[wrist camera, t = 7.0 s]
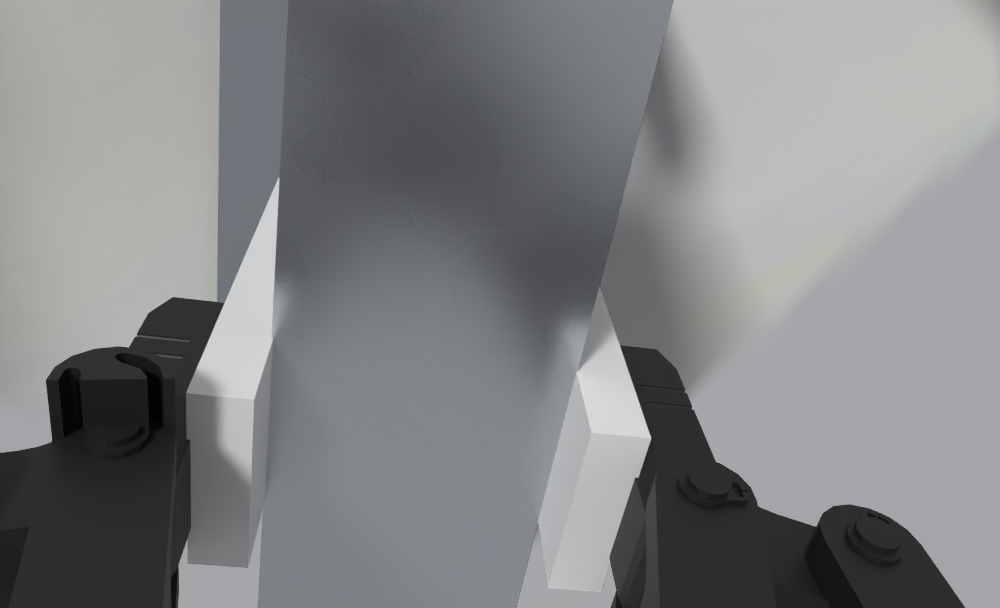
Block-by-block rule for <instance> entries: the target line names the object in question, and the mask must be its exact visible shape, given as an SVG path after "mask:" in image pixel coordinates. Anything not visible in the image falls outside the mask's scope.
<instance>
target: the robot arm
mask: <svg viewBox="0 0 1000 608" xmlns="http://www.w3.org/2000/svg"><path fill="white" fill-rule="evenodd" d="M278 198H279V178H278V180H277V182H276V185H275V187H274V189H273V192H272V194H271V196H270V199H269V201H268V203H267V206H266V208H265V210H264V213H263V215H262V217H261V219H260V222H259V224H258V226H257V229H256V231H255V233H254V236H253V238H252V240H251V243H250V245H249V247H248V250H247V252H246V254H245V257H244V259H243V261H242V264H241V266H240V268H239V271H238V273H237V275H236V278H235V280H234V282H233V285H232V287H231V289H230V292H229V294H228V296H227V299H226V301H225V303H220V302H211V301H202V300H193V299H184V298H175V297H173V298H171V299H169V300H168V301H166V302H165V303H163V304H162V305H160V306H159V307H157V308H156V309H154V310H153V311H151V312H150V313H149V314H148V315H147V317H146V319H145V321H144V322H143V324H142V326H141V328H140V329H139V331H138V333H137V337H135V338H134V340H133V342H132V343H131V345H130V347H129V348H127V347H109V348H100V349H93V350H90V351H86V352H83V353H80V354H77V355H74V356H71V357H70V358H68V359H67V360H65V361H63V362H62V363H60V364H59V365H57V366H56V367H55V368H54V369H53V371H52V372H51V374H50V375H49V377H48V378H47V380H46V385H47V394H48V403H49V413H50V422H51V431H52V442H51V443H48V444H45V445H42V446H40V447H36V448H30V449H25V450H20V451H13V452H5V453H0V608H178V596H179V571H178V564H179V561H180V558H181V555H182V553H183V549H184V547H185V544H186V541H187V538H188V563H189V564H204V565H217V566H232V567H245V568H248V565H249V561H250V557H251V553H252V549H253V545H254V541H255V537H256V533H257V529H258V525H259V521H260V517H261V513H262V509H263V505H264V501H265V491H266V471H267V451H268V431H269V411H270V391H271V372H272V352H273V338H271V337H272V317H273V297H274V277H275V258H276V238H277V218H278ZM538 525H539V532H540V540H541V547H542V554H543V561H544V568H545V575H546V582H547V589H557V590H570V591H585V592H599V593H601V591H602V587H603V585H604V582H605V579H606V575H607V572H608V569H609V566H610V563H611V567H612V572H613V576H614V581H615V585H616V590H617V591H616V593H615V597H614V599H613V602H612V605H611V608H965V607H964V605H963V604H962V603H961V601H960V600H959V598H958V597H957V595H956V594H955V593H954V591H953V590H952V588H951V587H950V585H949V584H948V583H947V581H946V580H945V578H944V577H943V576H942V574H941V573H940V571H939V570H938V568H937V567H936V565H935V564H934V563H933V561H932V560H931V558H930V557H929V555H928V554H927V553H926V551H925V550H924V548H923V547H922V545H921V544H920V543H919V542H918V541H917V540H916V539H915V538H914V537H913V536H912V535H911V533H909V531H908V530H906V529H905V528H904V527H902V526H901V525H899V524H898V523H897V522H895V521H894V520H892V519H891V518H889V517H887V516H885V515H883V514H881V513H878V512H876V511H874V510H871V509H868V508H864V507H859V506H854V505H840V506H833V507H832V508H830V509H828V510H827V511H826V512H824V513H823V514H822V516H821V518H820V521H819V523H818V525H817V527H815V526H811V525H808V524H805V523H802V522H799V521H796V520H792V519H789V518H787V517H784V516H780V515H777V514H775V513H772V512H770V511H767V510H764V509H762V508H760V507H758V506H757V501H756V498H755V496H754V494H753V492H752V490H751V487H750V486H749V485H748V484H747V483H746V482H745V481H744V480H743V479H742V478H741V477H740V476H739V475H738V474H736V473H735V472H733V471H732V470H730V469H728V468H727V467H725V466H724V465H722V464H720V463H717V462H716V461H715V459H714V457H713V454H712V452H711V450H710V447H709V445H708V442H707V440H706V438H705V435H704V433H703V431H702V428H701V426H700V424H699V421H698V419H697V416H696V414H695V412H694V410H692V405H691V402H690V400H689V398H688V395H687V393H685V388H684V386H683V383H682V381H681V379H680V376H679V374H678V372H677V369H676V368H675V367H674V366H673V365H672V364H671V363H670V362H669V361H668V360H667V359H666V358H665V357H664V356H663V355H662V354H661V353H660V352H659V351H658V350H655V349H647V348H638V347H629V346H620V344H619V341H618V339H617V336H616V333H615V330H614V327H613V324H612V321H611V318H610V315H609V312H608V309H607V306H606V303H605V300H604V297H603V294H602V291H601V288H600V286H599V290H598V294H597V298H596V301H595V305H594V309H593V313H592V317H591V321H590V325H589V328H588V332H587V336H586V340H585V344H584V348H583V352H582V356H581V359H580V363H579V367H578V371H576V375H575V379H574V383H573V387H572V391H571V395H570V399H569V403H568V406H567V410H566V414H565V418H564V422H563V426H562V430H561V434H560V438H559V441H558V445H557V449H556V453H555V457H554V461H553V465H552V469H551V473H550V476H549V480H548V484H547V488H546V492H545V496H544V500H543V504H542V508H541V511H540V515H539V519H538Z"/></svg>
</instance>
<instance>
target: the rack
mask: <svg viewBox="0 0 1000 608" xmlns="http://www.w3.org/2000/svg"><path fill="white" fill-rule="evenodd" d="M287 19H288V0H221V4H220V100H219V197H218V294H217V302H220V303H225V301H226V299H227V296H228V294H229V292H230V289H231V287H232V285H233V282H234V280H235V278H236V275H237V273H238V271H239V268H240V266H241V264H242V261H243V259H244V257H245V254H246V252H247V250H248V247H249V245H250V243H251V240H252V238H253V236H254V233H255V231H256V229H257V226H258V224H259V222H260V219H261V217H262V215H263V213H264V210H265V208H266V206H267V203H268V201H269V199H270V196H271V194H272V192H273V189H274V187H275V185H276V182H277V180H278V178H280V158H281V138H282V118H283V98H284V79H285V59H286V39H287Z"/></svg>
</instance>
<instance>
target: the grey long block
mask: <svg viewBox="0 0 1000 608" xmlns="http://www.w3.org/2000/svg"><path fill="white" fill-rule="evenodd" d="M672 4H673V0H288V19H287V39H286V59H285V79H284V98H283V118H282V138H281V158H280V178H279V198H278V218H277V238H276V258H275V277H274V297H273V317H272V337H271V338H273V352H272V372H271V391H270V411H269V431H268V451H267V471H266V491H265V501H264V505H263V516H262V536H261V556H260V577H259V596H258V608H516V607H517V603H518V599H519V595H520V591H521V587H522V583H523V580H524V576H525V572H526V568H527V564H528V560H529V556H530V553H531V549H532V545H533V541H534V537H535V533H536V529H537V526H538V519H539V515H540V511H541V508H542V504H543V500H544V496H545V492H546V488H547V484H548V480H549V476H550V473H551V469H552V465H553V461H554V457H555V453H556V449H557V445H558V441H559V438H560V434H561V430H562V426H563V422H564V418H565V414H566V410H567V406H568V403H569V399H570V395H571V391H572V387H573V383H574V379H575V375H576V371H578V367H579V363H580V359H581V356H582V352H583V348H584V344H585V340H586V336H587V332H588V328H589V325H590V321H591V317H592V313H593V309H594V305H595V301H596V298H597V294H598V290H599V286H600V282H601V278H602V274H603V271H604V267H605V263H606V259H607V255H608V251H609V247H610V243H611V240H612V236H613V232H614V228H615V224H616V220H617V216H618V213H619V209H620V205H621V201H622V197H623V193H624V189H625V185H626V182H627V178H628V174H629V170H630V166H631V162H632V158H633V155H634V151H635V147H636V143H637V139H638V135H639V131H640V127H641V124H642V120H643V116H644V112H645V108H646V104H647V100H648V97H649V93H650V89H651V85H652V81H653V77H654V73H655V70H656V66H657V62H658V58H659V54H660V50H661V46H662V42H663V39H664V35H665V31H666V27H667V23H668V19H669V15H670V12H671V8H672Z"/></svg>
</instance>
